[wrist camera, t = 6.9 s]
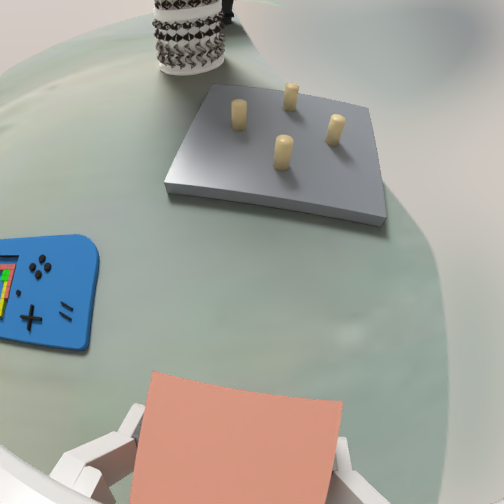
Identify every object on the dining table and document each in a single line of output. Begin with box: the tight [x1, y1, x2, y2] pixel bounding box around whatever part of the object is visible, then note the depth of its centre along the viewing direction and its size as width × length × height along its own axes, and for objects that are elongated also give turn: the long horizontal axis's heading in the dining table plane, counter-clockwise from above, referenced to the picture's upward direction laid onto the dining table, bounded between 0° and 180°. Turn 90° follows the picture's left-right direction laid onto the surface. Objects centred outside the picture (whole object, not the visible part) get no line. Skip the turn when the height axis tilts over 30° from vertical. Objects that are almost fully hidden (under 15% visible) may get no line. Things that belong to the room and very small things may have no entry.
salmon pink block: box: [129, 371, 343, 504], centre depth 10 cm, size 5×5×10 cm
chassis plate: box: [164, 83, 387, 227], centre depth 23 cm, size 16×14×4 cm
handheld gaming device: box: [0, 234, 99, 351], centre depth 17 cm, size 8×1×15 cm
